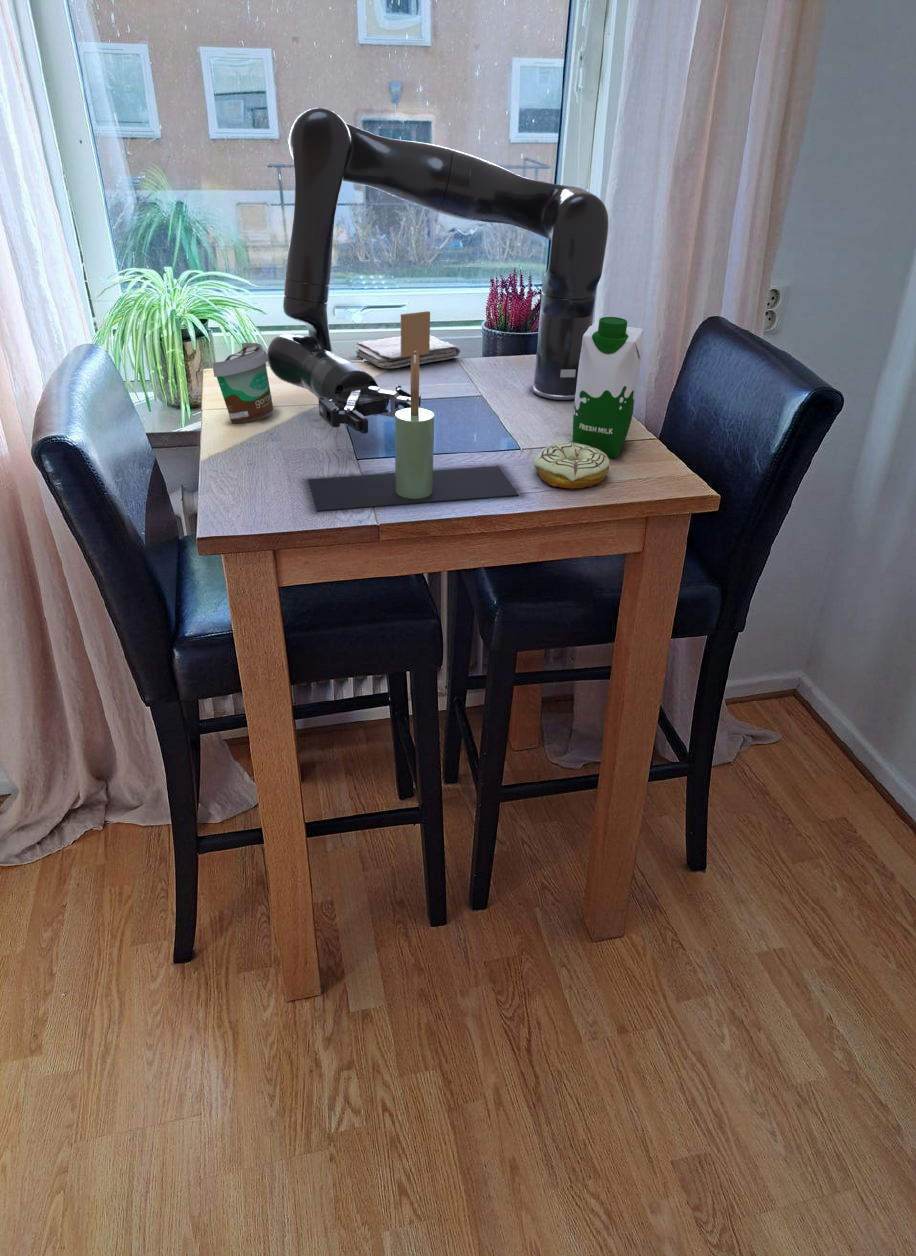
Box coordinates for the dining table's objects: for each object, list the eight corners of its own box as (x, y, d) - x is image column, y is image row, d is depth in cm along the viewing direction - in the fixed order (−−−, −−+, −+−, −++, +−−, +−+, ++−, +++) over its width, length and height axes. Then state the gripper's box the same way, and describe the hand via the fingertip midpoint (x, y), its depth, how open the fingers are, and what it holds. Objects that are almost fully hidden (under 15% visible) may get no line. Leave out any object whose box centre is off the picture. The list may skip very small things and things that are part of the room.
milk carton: (565, 453, 137) (579, 320, 126) (578, 433, 144) (592, 306, 133) (621, 462, 134) (641, 328, 123) (631, 442, 142) (651, 313, 131)
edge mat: (498, 467, 131) (498, 466, 131) (518, 495, 123) (518, 494, 123) (308, 480, 125) (308, 479, 125) (316, 511, 117) (316, 510, 117)
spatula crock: (421, 480, 126) (423, 306, 113) (439, 494, 122) (444, 316, 109) (388, 487, 124) (387, 310, 110) (406, 501, 120) (407, 320, 107)
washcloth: (352, 355, 175) (351, 339, 173) (429, 343, 183) (429, 328, 182) (381, 372, 167) (381, 355, 165) (460, 359, 175) (461, 343, 173)
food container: (263, 424, 139) (247, 360, 134) (228, 426, 141) (210, 363, 136) (291, 399, 149) (277, 339, 144) (258, 401, 151) (242, 342, 146)
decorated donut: (519, 476, 129) (521, 451, 127) (564, 456, 135) (567, 433, 133) (576, 498, 123) (579, 473, 121) (620, 477, 130) (624, 453, 127)
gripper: (297, 369, 129) (346, 403, 118) (384, 356, 136) (438, 388, 124) (301, 418, 133) (348, 456, 122) (385, 404, 140) (437, 439, 128)
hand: (393, 421), depth 123 cm, fingers open, 8 cm apart
